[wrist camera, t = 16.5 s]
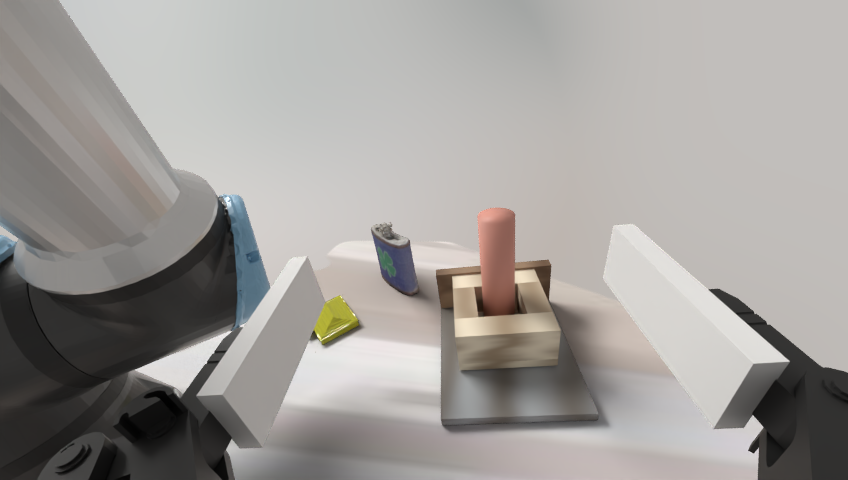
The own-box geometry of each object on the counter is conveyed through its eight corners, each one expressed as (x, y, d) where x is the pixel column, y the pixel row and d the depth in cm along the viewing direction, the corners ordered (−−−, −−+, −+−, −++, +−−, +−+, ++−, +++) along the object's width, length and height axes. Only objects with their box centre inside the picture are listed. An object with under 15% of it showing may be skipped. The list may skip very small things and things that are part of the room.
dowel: (485, 334, 36) (479, 225, 29) (482, 312, 39) (476, 209, 32) (517, 332, 35) (518, 222, 29) (511, 310, 38) (511, 206, 32)
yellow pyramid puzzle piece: (374, 329, 43) (370, 314, 42) (309, 366, 39) (301, 350, 38) (348, 294, 51) (343, 280, 49) (291, 322, 47) (284, 308, 46)
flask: (422, 290, 48) (410, 228, 43) (406, 300, 46) (392, 237, 41) (391, 267, 55) (377, 211, 49) (376, 274, 53) (361, 218, 48)
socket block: (459, 370, 33) (455, 337, 31) (455, 305, 42) (452, 275, 40) (557, 365, 32) (561, 330, 30) (533, 300, 41) (534, 268, 38)
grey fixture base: (442, 425, 30) (433, 381, 27) (442, 307, 44) (436, 269, 41) (597, 420, 28) (607, 373, 25) (545, 299, 42) (548, 259, 39)
